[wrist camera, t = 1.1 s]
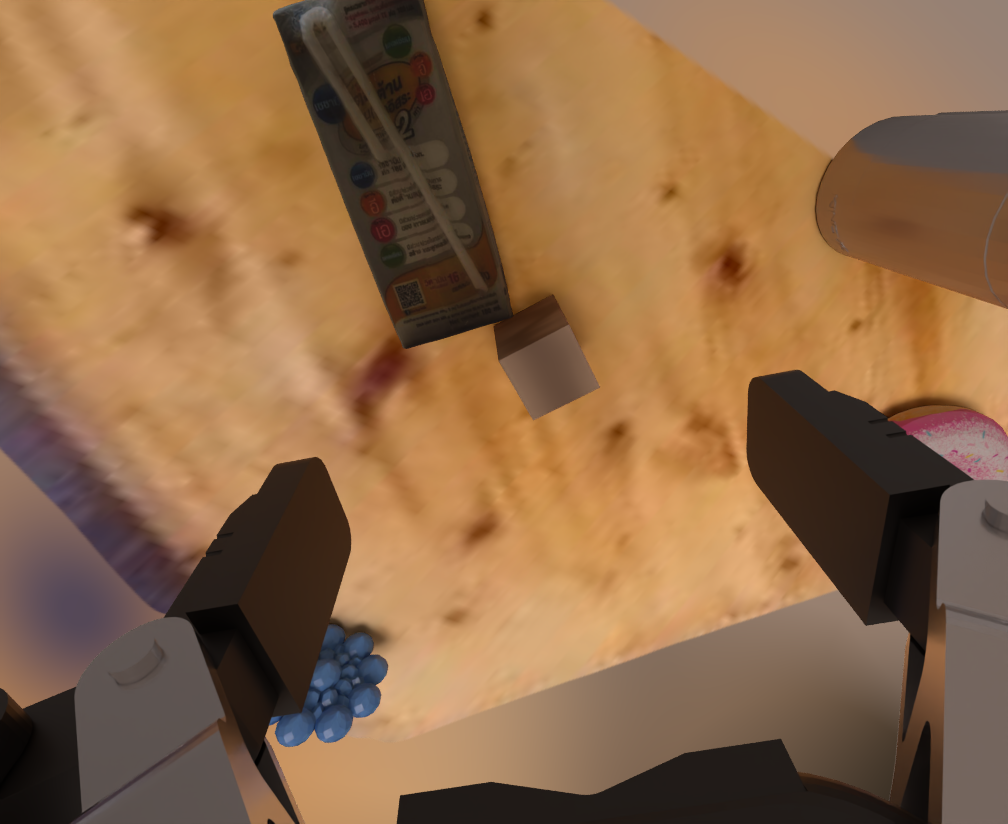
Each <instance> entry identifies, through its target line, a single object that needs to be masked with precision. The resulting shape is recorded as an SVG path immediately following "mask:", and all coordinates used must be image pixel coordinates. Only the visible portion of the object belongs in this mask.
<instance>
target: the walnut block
mask: <svg viewBox="0 0 1008 824" xmlns="http://www.w3.org/2000/svg"><path fill="white" fill-rule="evenodd" d="M494 332H495V339H496V346H497V352H498V359H499V362H500V364H501V366H502V367H503V369H504V371H505V372H506V374H507V376H508V378H509V379H510V381H511V383H512V385H513V386H514V388H515V390H516V391H517V393H518V395H519V397H520V398H521V400H522V402H523V403H524V405H525V407H526V409H527V410H528V412H529V414H530V415H531V417H532V419H533V420H535V419H537V418H539V417H541V416H543V415H545V414H547V413H549V412H551V411H553V410H555V409H557V408H559V407H561V406H563V405H565V404H567V403H570V402H572V401H574V400H576V399H578V398H580V397H582V396H584V395H586V394H588V393H590V392H592V391H594V390H596V389H598V388H600V386H599V384H598V382H597V380H596V378H595V376H594V374H593V372H592V370H591V368H590V366H589V364H588V362H587V360H586V358H585V356H584V354H583V352H582V350H581V348H580V346H579V344H578V342H577V340H576V338H575V335H574V333H573V331H572V329H571V327H570V325H569V323H568V322H567V320H566V318H565V316H564V314H563V312H562V310H561V309H560V307H559V305H558V303H557V301H556V299H555V297H554V295H551V296H549V297H547V298H545V299H543V300H542V301H540V302H538V303H536V304H534V305H532V306H530V307H528V308H526V309H525V310H523V311H521V312H519V313H517V314H515V315H513V317H512V318H510V319H506V320H504V321H502V322H500V323H498V324H496V325H495V326H494Z"/></svg>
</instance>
